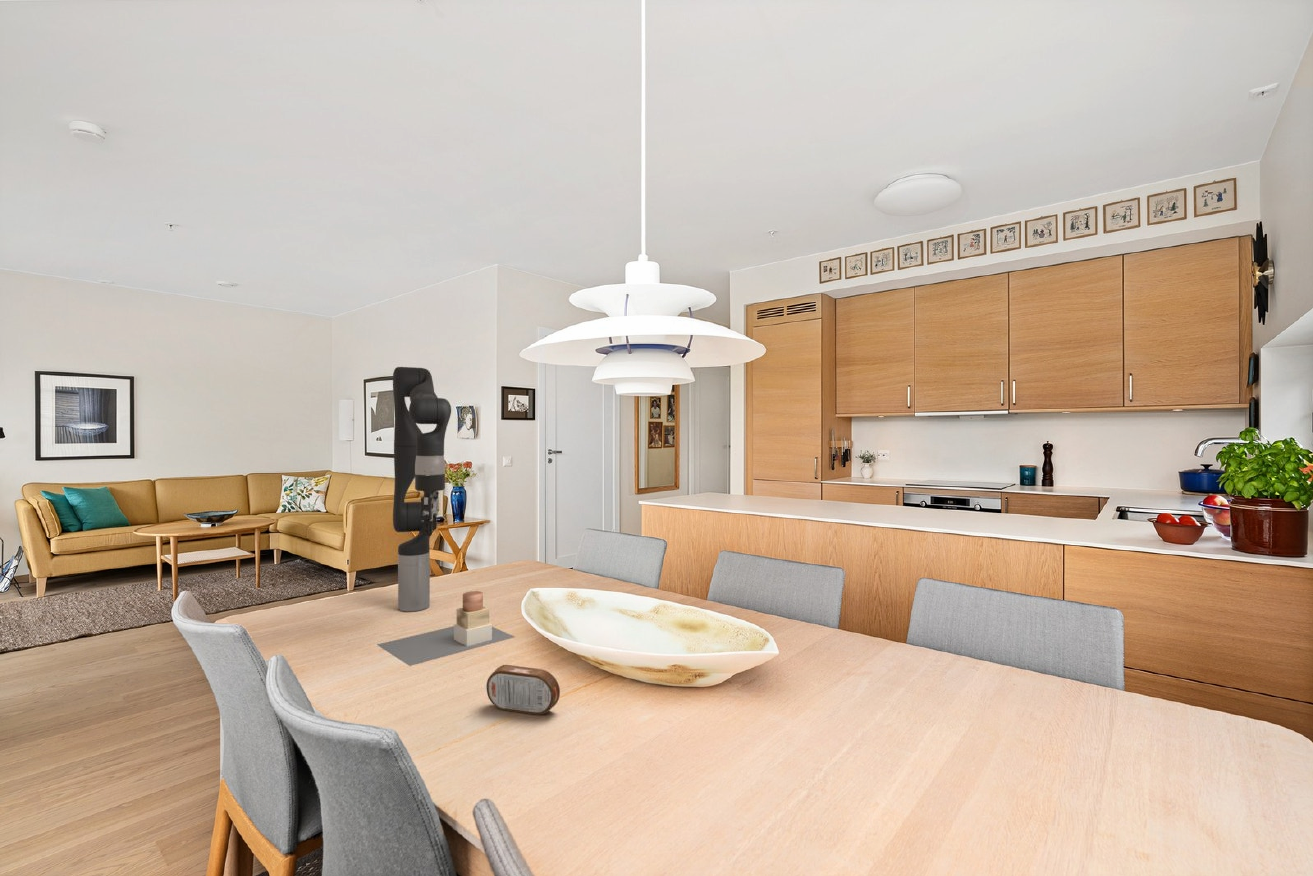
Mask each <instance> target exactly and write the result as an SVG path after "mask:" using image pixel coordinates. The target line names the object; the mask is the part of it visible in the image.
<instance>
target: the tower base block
mask: <svg viewBox="0 0 1313 876" xmlns="http://www.w3.org/2000/svg"><path fill="white" fill-rule="evenodd" d="M453 626H454V640H455V641H457V642H459V643H461V644H463V645H465V646H470V645H474V644H478V643H481V642H485V641H489V640H492V627H493V624H492V623H491V622H489V625H484V626H480V627H476V628H472V629H465V628H463V627H461V626H459V625H457V623H454V624H453Z"/></svg>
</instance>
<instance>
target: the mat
mask: <svg viewBox="0 0 1313 876" xmlns="http://www.w3.org/2000/svg"><path fill="white" fill-rule="evenodd" d="M513 638H516V636H515V635H513V634H510V633H508V632H506V631H503V630H501V629H498V628H496V627H494V626H492V640H489V641H485V642H481V643H478V644H474V645H470V646H465V645H463V644H461V643H459V642H457V641H455V640H454V625H453V626H448V627H444V628H441V629H440V628H439V629H436V630H433V631H428V632H424V633H423V632H422V633H419V634H416V635H411V636H407V637H403V638H399V639H394V640H390V641H386V642H381V643H377V644H376V645H377V646H378V647H380V648H381V649H383V650H384V651H386V652H387V653H389V654H390V655H392V656H393V657H395V658H397V659H399V660H400V661H402V662H403V663H404V664H406V665H408V666H409V667H411V666H414V665H419V664H422V663H425V662H430V661H434V660H438V659H441V658H445V657H448V656H452V655H455V654H459V653H462V652H466V651H470V650H473V649H476V648H482V647H484V646H487V645H491V644H496V643H499V642H503V641H506V640H510V639H513Z"/></svg>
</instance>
